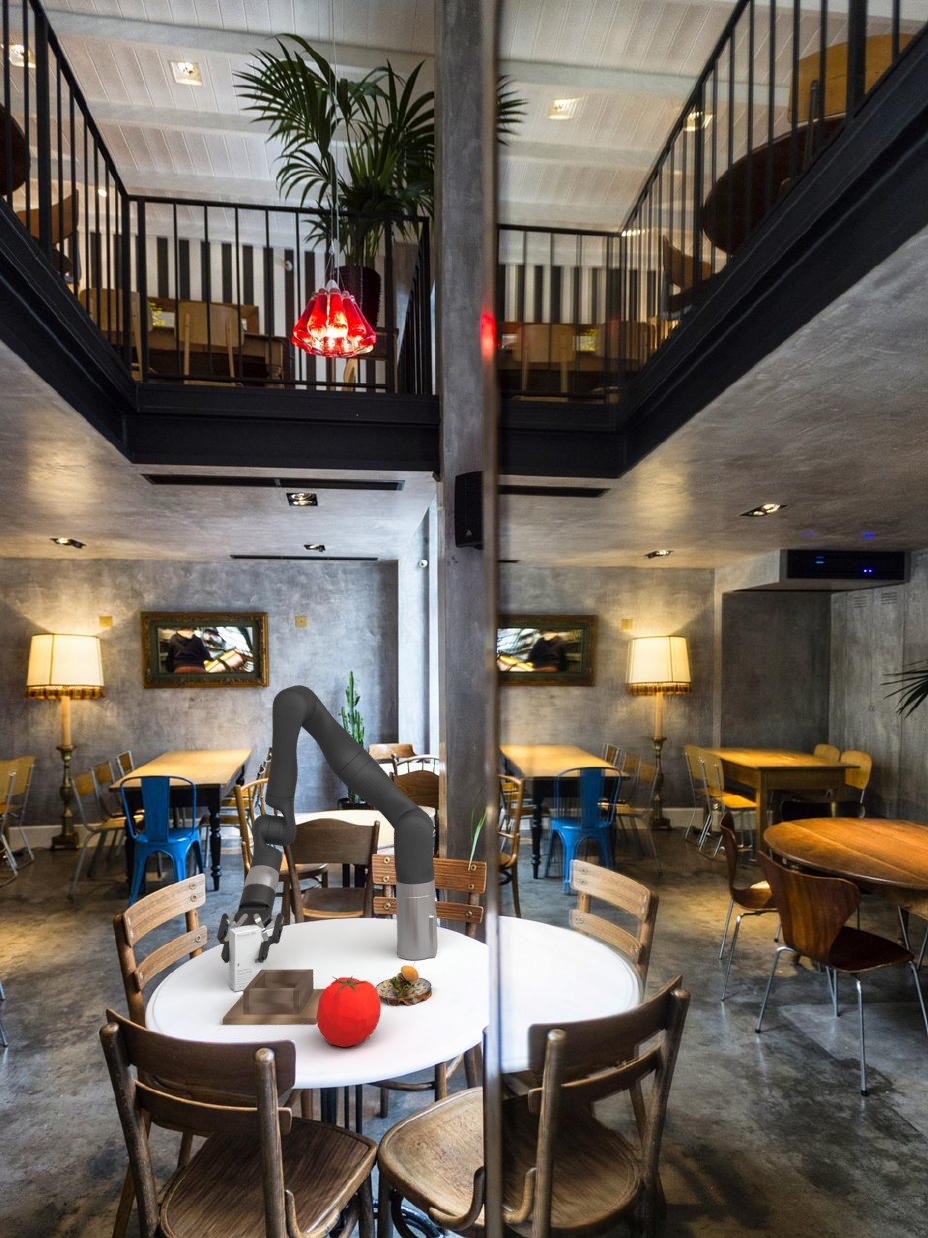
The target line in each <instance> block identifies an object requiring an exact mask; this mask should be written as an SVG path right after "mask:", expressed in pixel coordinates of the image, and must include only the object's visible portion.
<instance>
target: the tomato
mask: <svg viewBox="0 0 928 1238" xmlns="http://www.w3.org/2000/svg"><path fill="white" fill-rule="evenodd" d="M332 978H334V979H335V980H334V981H332V982H330V985H327V986H326V987H325V988H323V989H324V990H323V992H322V994H321V996H320V998H319V1003H318V1010H317V1023H316V1024H317V1028H318V1029H319V1032H320V1034H321V1036H322V1037H323V1038H324V1039H325V1040H326V1041H327V1042H328V1043H329V1044H331V1045H334V1046H337V1047H341V1048H347V1047H351V1046H355V1045H358V1044H361V1043H362V1042H364V1041H366V1040H367V1039H368V1038H369V1037H370V1036H371V1035H372V1034H373V1033H374V1032H375V1030H376V1028H377V1026H378V1024H379V1021H380V1017H381V1011H382V1006H381V1004H382V1003H381V997H380V996H379V995H378V993H377V990H376V986H374V984H373V983H371V982H370V981H369V980H360V979H357V978H354V977H353V975H351V976H350V977H348V976H347V977H343V976H342V977H339V978H336V977H335V976H332Z"/></svg>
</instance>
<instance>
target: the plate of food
mask: <svg viewBox="0 0 928 1238" xmlns="http://www.w3.org/2000/svg"><path fill="white" fill-rule="evenodd" d="M415 963H416V961H414V962H413V964H415ZM419 975H420V974H419V972H418V970H417V969H416V968H415V967H414V966H413V965H406V964H405V965H403V966H402V967H401V966H400V972H398V973H397V974H396V976H393V977H392V978H389V979H385V980H383V981H381V982H378V984H377V985H376V986H375V988H376V990H377V993H378V995H379V998H384V999H386V1000H387V1004H388V1006H392V1007H400V1002H401V1001H402V1002H404V1004H405V1005H407V1006H412V1005H416V1004H417V1003H418V1002H421V1000H423V1001H424V1002H425V1001H427V1000H429V999H430V997H432V995H433V991H432V982H430V981H429V980H427V979H426V978H423V977H420V976H419Z"/></svg>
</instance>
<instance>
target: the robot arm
mask: <svg viewBox="0 0 928 1238" xmlns="http://www.w3.org/2000/svg"><path fill="white" fill-rule="evenodd" d="M271 711H272V712H271V713H272V714H271V716H272V717H271V718H272V721H271V722H272V738H271V740H272V741H271V755H270V756H271V757H270V763H269V771H268V777H267V785H266V790H265V796H264V803H265V805H267V806H268V807H269V808H271V809H274V810H277V811H279V812H280V813H281V815H276V814H266V813H263V814H260V815H258V816H257V817H256V818H255V819H254V821H253V825H252V842H253V851H252V859H251V863H250V866H249V870H248V873H247V875H246V878H245V881H244V884H243V889H242V893H241V897H240V901H239V904H238V908H237V909H238V910H237V912H236V913H235V914H234V915H228V913H226V912H225V913H223V914H222V915H221V918H220V919H221V920H220V922H219V927H218V932H217V935H216V938H217V940H218V942H219V944H221V945H223V946H222V950H221V952H220V953H221V954H220V957H221V959H222V960H223V962H224V963H223V964H229V929H230V928H229V927H231V926H232V924H233V923H234V922H235V925H234V926H232V928H237V927H241V926H249V925H254V924H255V925H257V926H259V927H260V928H261V929H262V941H261V947H260V951H259V956H258V960H259V962H260V963H261V964H263V963H264V962H265V961H266V960H267V959H268V957H269V950H270V947H271V945H274V944H276V945H277V944H280V942H281V936H282V933H283V929H284V925H285V917H284V915H283V913H281V912H278V913H277V914H273V913H272V912H273V909H274V905H275V901H276V895H277V892H278V886H279V879H280V872H281V869H282V868H281V867H282V864H283V863H282V862H283V853H282V851H281V850H279V849H278V848H276V847H274V846H280V847H288V846H290V845H291V844H293V842H294V841H295V839H296V836H297V823H296V817H295V795H296V789H297V783H298V776H299V775H298V773H299V772H298V771H299V769H298V767H299V766H298V756H297V755H298V754H297V749H298V740H299V736H300V731H301V728H302V729H304V730H305V731H306V732H307V733H308V734H309V735H310V737H312V739H313V740H315V742H316V743H317V745H318V747H319V749H320V752H321V753H322V755H323V757H324V759H325V761H326V762H327V764H328V766H329V768H330V769H331V771H332V772H333V773H334V775H335V776H336V777H337V778H338V779H339V780H340V781H341V782H342V783H343V784H344V785H345V787H347V788H348V789H349V790H350V791H351V792H353V794H354V795H356V796H358V797H359V798H361V799H362V800H363V801H365V802H366V803H368V804H369V805H371V806H372V807H373V808H375V810H377V811H378V812H379V813H380V814H381V815H382V817H384V818H385V819H386V820H387V822H388V823H389V825H390V826H391V827H392V828H393V829H394V830H393V854H394V855H393V856H394V858H393V859H394V871H395V888H396V889H395V890H396V892H395V893H396V894H395V897H396V901H395V902H396V941H397V943H396V944H397V945H396V948H397V956H398V957H399V958H400V959H401V958H402V959H403V960H409V961H410V960H413V961H417V960H424V959H425V960H426V959H429V958H436V956H437V951H438V927H437V926H438V925H437V924H438V922H437V921H438V920H437V917H438V916H437V908H436V889H435V888H436V887H435V885H436V884H435V883H436V882H435V879H436V878H435V864H434V837H433V836H434V832H435V826H434V822H433V821H434V820H433V819H432V818H431V816H430V814H428V812H426V811H425V810H424V809H423V808H421V807H420V806H419V805H418V804H416V803H415V802H414V801H413V800H412V799H410V798H409V797H408V796H407V795H406V794H405V793H404V792H403V791H402V790H401V789H400V788H399V787H398V785H396V783H395V782H394V781H393V779H392V778H391V777H390V776H389V774H387V772H386V771H385V770H384V769H383V767H382V766H381V765H380V764H379V763H378V762H377V761H376V760H375V758H374V757H373V756H372V755H371V754H370V752H368V751H367V750H366V749H365V747H363V746H362V745H361V744H360V743H359V742H358V741H357V740H356V739H355V738H354V737H353V736H352V734H350V732H348V731H347V730H346V729H345V728H344V727H343V726H342V725H341V724H340V722H338V721H337V720H336V719H335V717H334V716H333V715H332V714H331V713H330V711H329V710H328V709H327V708H326V706H325V705H324V703H323V702H322V701H321V700H320V698H319V696H318V695H317V694H316V693H315V692H314V691H313V690H312V689H311V688H309V687H307V686H305V685H301V684H295V685H292V686H289V687H286V688H284V689H282V690H281V691H279V692H278V693H277V694H276V695H275V696H274V699H273V701H272V710H271ZM272 845H273V846H272ZM271 923H273V930H272V934H271V935H268V932H267V931H266V930H267V929H266V928H267V927H268V926H270V924H271Z"/></svg>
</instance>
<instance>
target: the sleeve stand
mask: <svg viewBox="0 0 928 1238" xmlns="http://www.w3.org/2000/svg"><path fill="white" fill-rule="evenodd" d="M324 989H325V988H314V968H313V969H311V968H309V969H308V968H305V969H304V968H302V969H301V968H300V969H261V970H260V971H259V973H258V974H257V975H256V976H255V977H254V979H253V980H252V981H251V982H250V983H249V984H248V986H247V987H246V988H245V989H244V990H242V994H241V996H240V997H239V998H238V999H237V1000H236V1002H235V1003H234V1004H233V1005H232V1007H231V1008H230V1009H229V1010H228V1011H227V1012H226V1014H225V1015H224V1016H223V1018H222V1025H223V1026H224V1025H226V1026H228V1025H229V1026H230V1025H231V1026H235V1025H240V1026H242V1025H244V1026H245V1025H246V1026H247V1025H248V1026H249V1025H250V1026H251V1025H252V1026H253V1025H257V1026H258V1025H262V1026H263V1025H264V1026H265V1025H272V1026H273V1025H275V1026H276V1025H316V1024H317V1010H318V1003H319V998H320V996H321V994H322V992H323V990H324Z"/></svg>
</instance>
